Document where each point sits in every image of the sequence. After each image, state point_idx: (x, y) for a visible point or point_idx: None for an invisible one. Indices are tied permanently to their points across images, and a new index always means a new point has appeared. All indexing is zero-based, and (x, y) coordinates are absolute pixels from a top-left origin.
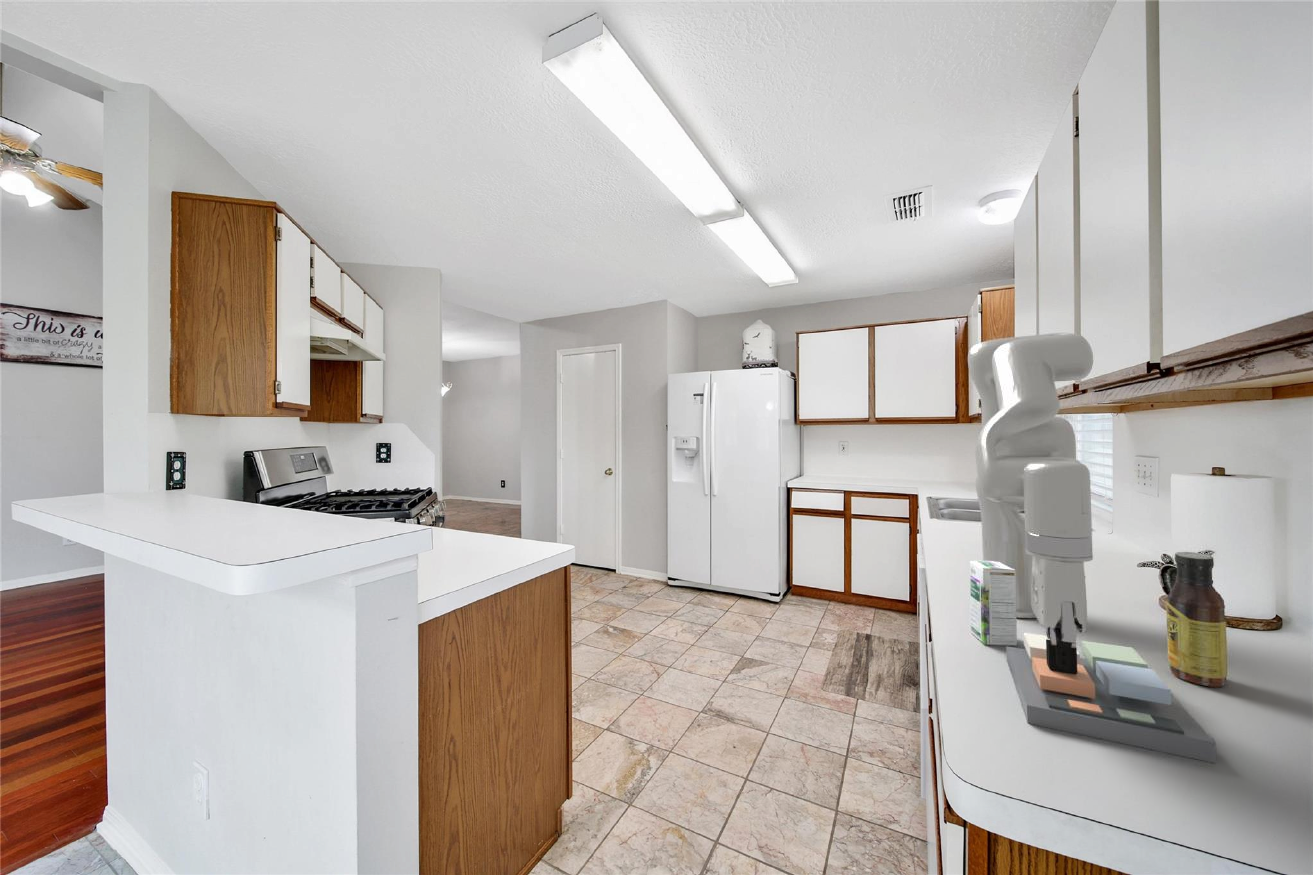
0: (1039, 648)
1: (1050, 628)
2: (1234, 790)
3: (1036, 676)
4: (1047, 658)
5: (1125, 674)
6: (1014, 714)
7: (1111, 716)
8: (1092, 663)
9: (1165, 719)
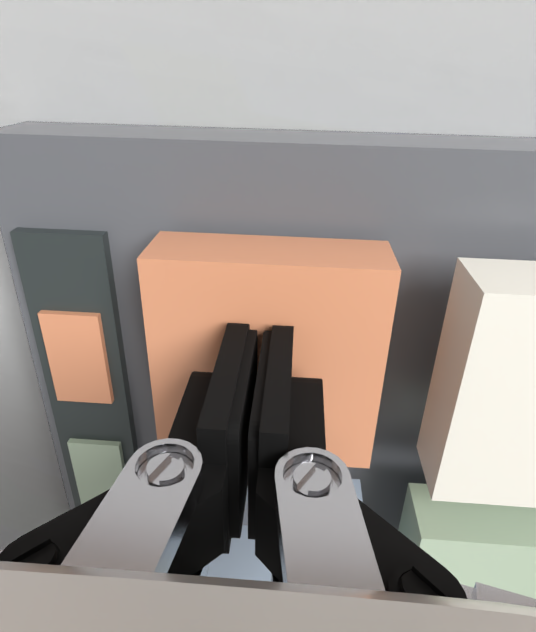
0: (473, 341)
1: (133, 564)
2: (3, 509)
3: (260, 241)
4: (271, 348)
5: (245, 577)
6: (74, 77)
7: (58, 414)
8: (420, 504)
9: None
